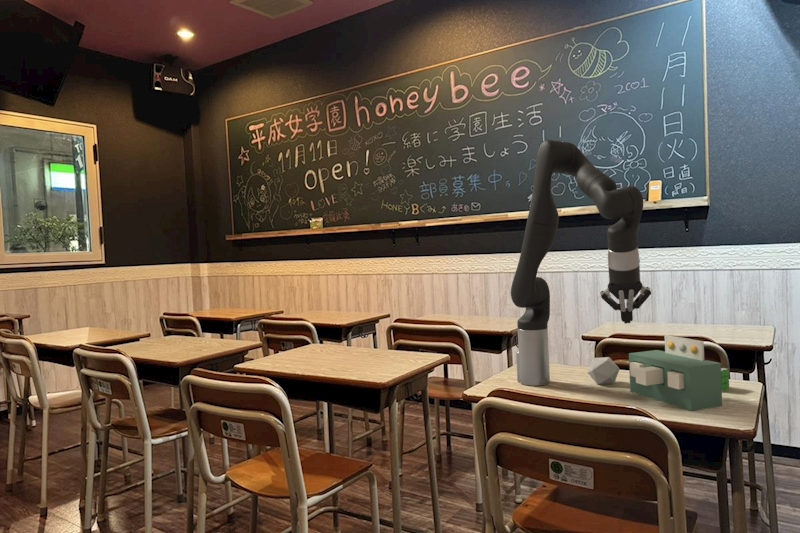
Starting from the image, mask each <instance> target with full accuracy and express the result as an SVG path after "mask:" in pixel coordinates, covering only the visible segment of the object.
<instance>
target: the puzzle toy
mask: <svg viewBox="0 0 800 533" xmlns="http://www.w3.org/2000/svg"><path fill="white" fill-rule="evenodd" d="M729 369H730V368H725V367H721V381H722V390H723V391H725V389H727V390H729V389H730V376H729V375H730V373H729Z"/></svg>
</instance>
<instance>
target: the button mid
mask: <svg viewBox="0 0 800 533" xmlns="http://www.w3.org/2000/svg"><path fill="white" fill-rule="evenodd" d="M635 373H636V383H639V384H642V385H645V386H647V385H654V384H661V383H664V369H663V368H659V367H655V366H651V367H644V368H636V369H635Z"/></svg>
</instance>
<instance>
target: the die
mask: <svg viewBox="0 0 800 533" xmlns="http://www.w3.org/2000/svg"><path fill="white" fill-rule="evenodd" d="M619 371H620V368H619V366H618V365H617V364H616V363H615V362H614V361H613V359H612V358H611V357H609V356H606V357H592V360H591V363H590V365H589V368H588V372H587V374H588V376H590V378H591V379H592V380H593V381H594V383H595V384H596V385H597V386H598V385H599V386H600V385H615V382H616V380H617V377H618V374H619Z"/></svg>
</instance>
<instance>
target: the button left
mask: <svg viewBox="0 0 800 533" xmlns="http://www.w3.org/2000/svg"><path fill="white" fill-rule="evenodd" d="M644 367H645V363H642V362H630V373H629V377H630V376H633V377H636V373H635V369H636V368H644Z"/></svg>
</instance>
